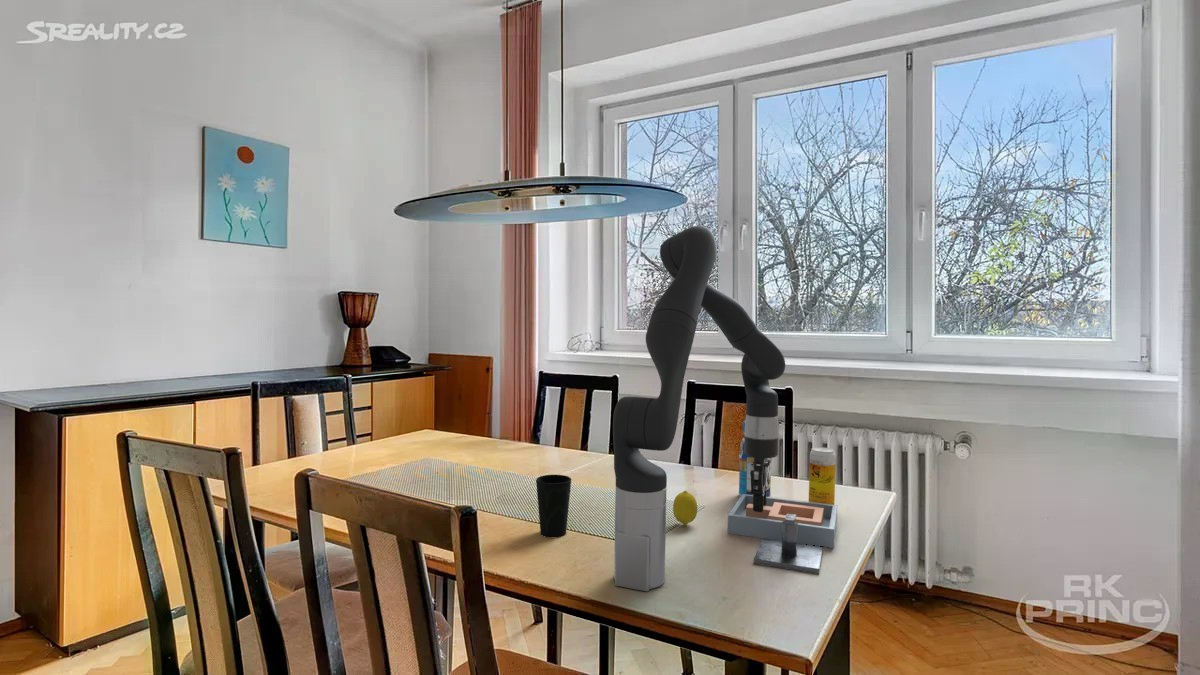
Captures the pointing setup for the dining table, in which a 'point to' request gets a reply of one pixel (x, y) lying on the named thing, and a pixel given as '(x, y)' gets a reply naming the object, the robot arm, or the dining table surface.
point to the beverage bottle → (747, 470)
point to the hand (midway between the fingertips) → (759, 508)
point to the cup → (553, 504)
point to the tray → (773, 528)
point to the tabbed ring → (782, 509)
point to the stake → (789, 550)
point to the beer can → (822, 475)
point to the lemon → (685, 507)
